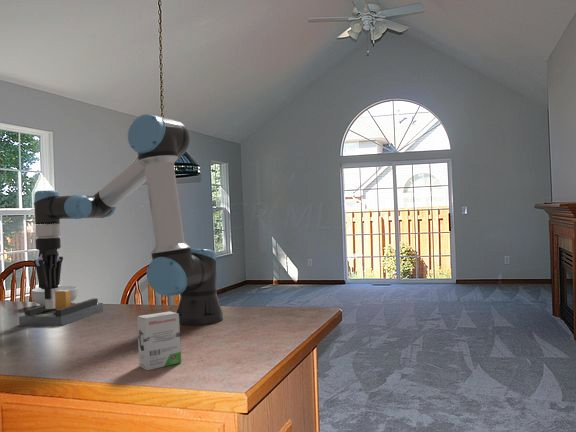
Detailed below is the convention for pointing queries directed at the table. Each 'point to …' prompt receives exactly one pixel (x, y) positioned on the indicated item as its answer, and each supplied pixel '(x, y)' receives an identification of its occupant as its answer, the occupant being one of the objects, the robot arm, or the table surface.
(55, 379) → the table surface
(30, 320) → the grey slider base
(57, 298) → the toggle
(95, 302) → the long dark grey rail
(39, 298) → the cereal bowl
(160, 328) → the ink box
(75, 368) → the table surface
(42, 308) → the dark grey edge bar
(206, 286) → the robot arm
